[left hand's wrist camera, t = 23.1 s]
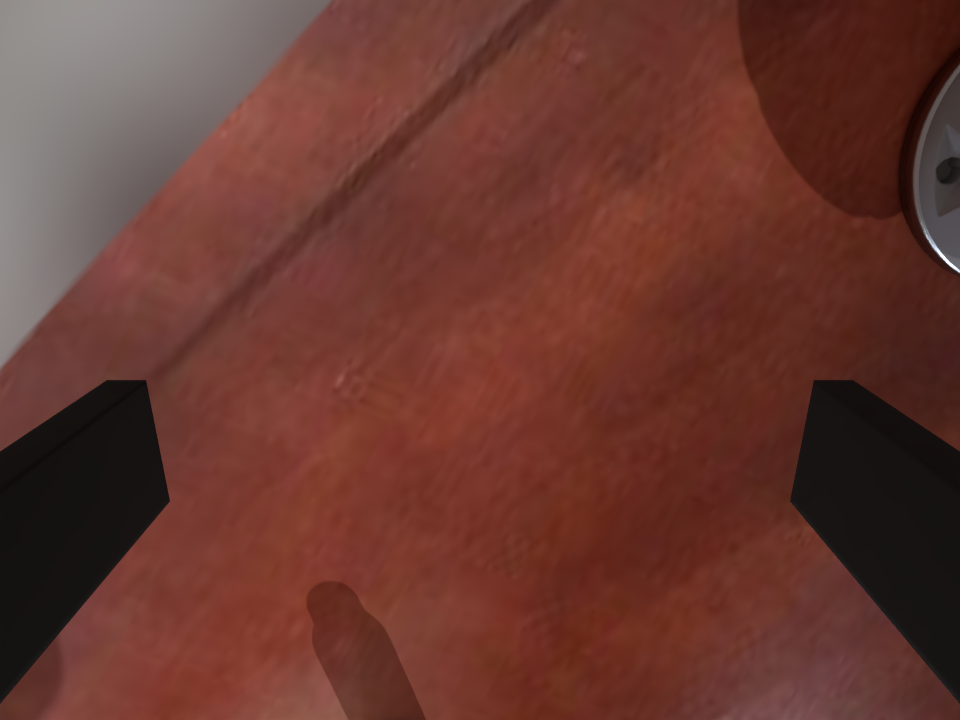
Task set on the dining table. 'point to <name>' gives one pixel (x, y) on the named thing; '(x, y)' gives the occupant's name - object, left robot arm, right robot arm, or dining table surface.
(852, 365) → the dining table surface
